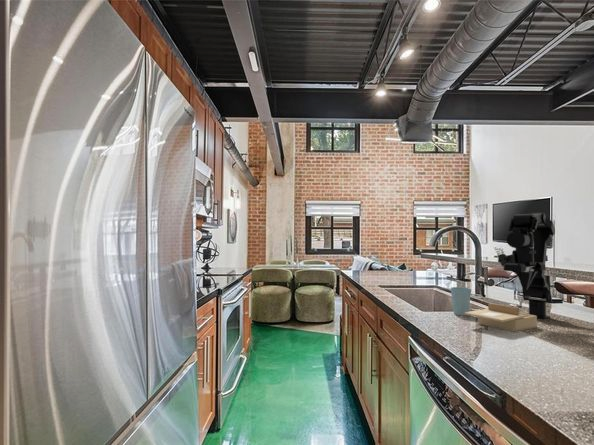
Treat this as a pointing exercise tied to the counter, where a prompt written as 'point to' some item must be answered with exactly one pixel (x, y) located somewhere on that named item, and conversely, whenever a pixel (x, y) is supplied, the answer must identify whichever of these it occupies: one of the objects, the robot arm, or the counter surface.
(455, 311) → the cup
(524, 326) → the box
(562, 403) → the counter surface
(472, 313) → the lid
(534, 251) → the robot arm
